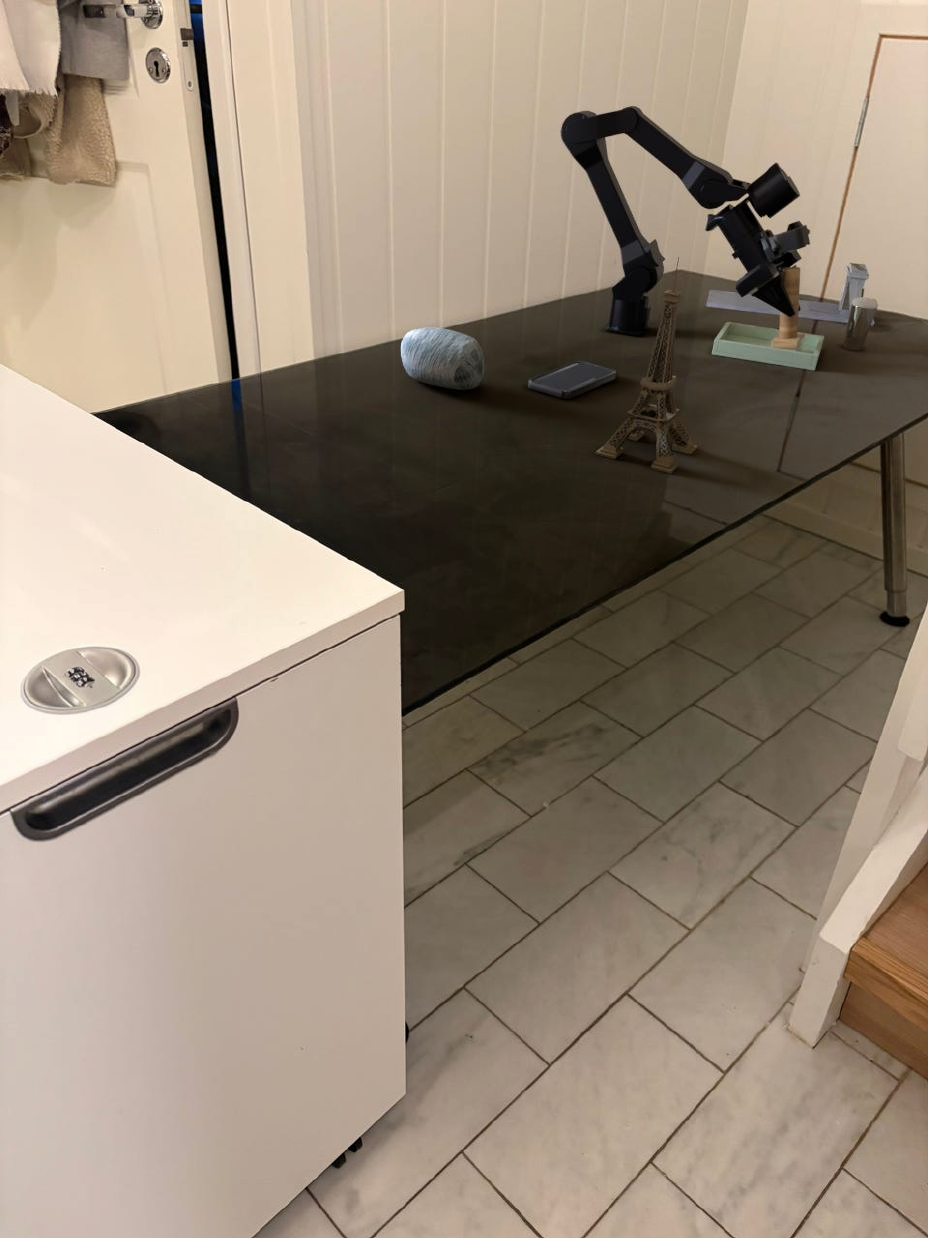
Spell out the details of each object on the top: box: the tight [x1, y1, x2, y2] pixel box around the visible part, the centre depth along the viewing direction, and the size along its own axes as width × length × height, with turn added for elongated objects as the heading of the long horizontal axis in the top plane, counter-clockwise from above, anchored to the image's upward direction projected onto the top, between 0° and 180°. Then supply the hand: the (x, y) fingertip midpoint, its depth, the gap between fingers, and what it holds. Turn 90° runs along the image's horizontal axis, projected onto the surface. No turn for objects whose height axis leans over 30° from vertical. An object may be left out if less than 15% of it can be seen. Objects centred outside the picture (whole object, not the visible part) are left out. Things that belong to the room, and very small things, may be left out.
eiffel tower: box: [594, 256, 699, 475], centre depth 121 cm, size 11×11×25 cm
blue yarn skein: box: [400, 326, 486, 391], centre depth 145 cm, size 14×10×10 cm
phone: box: [527, 360, 617, 400], centre depth 150 cm, size 8×1×15 cm
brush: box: [771, 266, 806, 351], centre depth 164 cm, size 6×4×14 cm
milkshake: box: [843, 288, 879, 352], centre depth 173 cm, size 4×5×10 cm
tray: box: [711, 321, 825, 371], centre depth 169 cm, size 18×14×3 cm
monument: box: [705, 262, 875, 327], centre depth 195 cm, size 12×33×10 cm, turn 75°
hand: (795, 313), depth 164 cm, fingers closed on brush, 3 cm apart
